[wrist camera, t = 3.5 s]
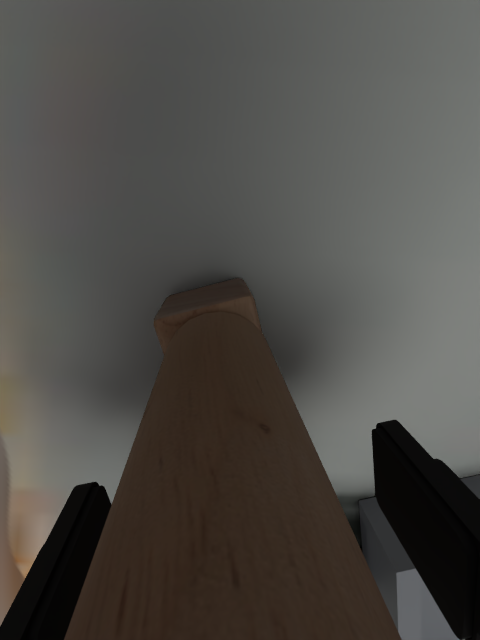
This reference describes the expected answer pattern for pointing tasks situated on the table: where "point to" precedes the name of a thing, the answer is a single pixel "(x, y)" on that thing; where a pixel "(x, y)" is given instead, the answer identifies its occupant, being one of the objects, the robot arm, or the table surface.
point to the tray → (402, 575)
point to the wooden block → (225, 502)
